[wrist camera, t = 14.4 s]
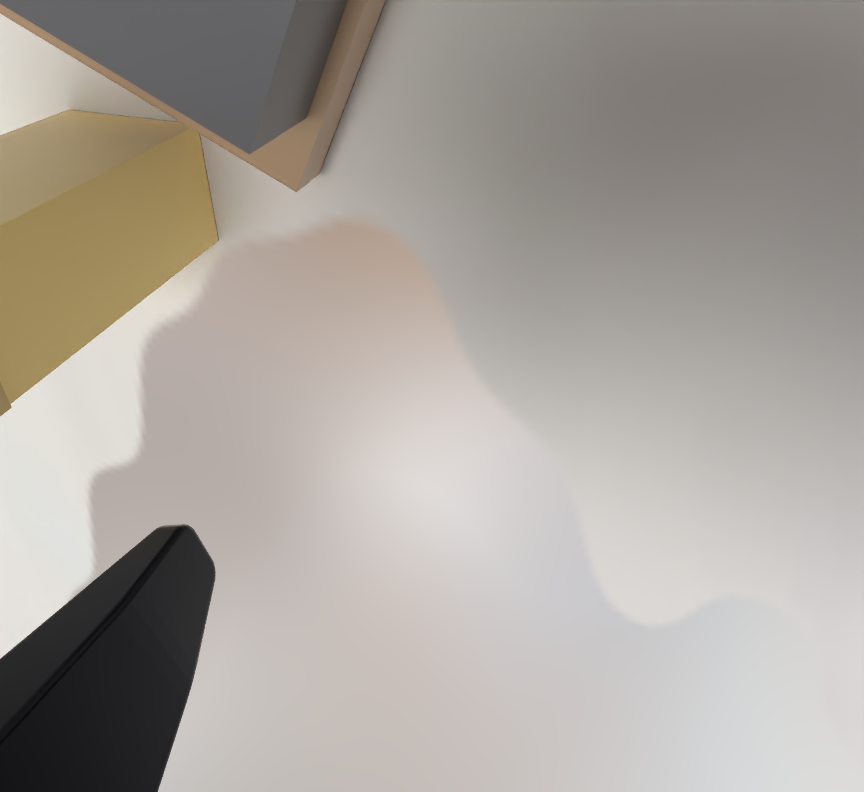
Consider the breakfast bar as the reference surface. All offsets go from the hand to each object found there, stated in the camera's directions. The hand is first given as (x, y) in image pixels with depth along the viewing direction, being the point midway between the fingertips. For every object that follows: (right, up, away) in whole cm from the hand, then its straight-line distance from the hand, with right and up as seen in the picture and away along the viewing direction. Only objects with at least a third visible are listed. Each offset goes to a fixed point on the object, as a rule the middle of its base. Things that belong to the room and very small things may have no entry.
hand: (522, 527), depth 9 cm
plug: (-10, +8, +13) cm, 18 cm away
